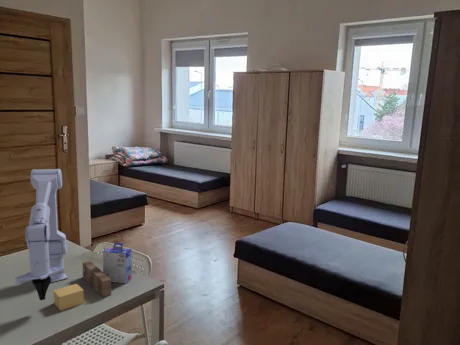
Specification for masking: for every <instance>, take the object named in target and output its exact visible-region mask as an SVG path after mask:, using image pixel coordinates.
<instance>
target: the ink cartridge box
mask: <svg viewBox="0 0 460 345" xmlns="http://www.w3.org/2000/svg"><path fill="white" fill-rule="evenodd" d="M123 245H124V243H121V242H114V244H113V247H112V246H109V247H107V248H105V250H103V251H102V272H103V273H105V274H106V275H107V276H108V277H109V278H110V279H111V283H119V284H127V283H129V281H131V280H132V279H133V273H132V272H133V263H132V262H133V260H132V259H133V257H132V255H133V254H132V251H133V250H132V249H131V248H123V247H124V246H123Z"/></svg>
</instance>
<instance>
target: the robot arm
mask: <svg viewBox="0 0 460 345" xmlns="http://www.w3.org/2000/svg"><path fill="white" fill-rule="evenodd" d="M30 184H31V186H32V187H33V188H32V189H33V190H34V189H35V204H34V205H33V206H32V207H31V209H30V215H29V223H28V225H27V226H26V227H25V232H24V234H25V242H26V246H27V249H28V256H29V271H30V272H29V271H28V272H27V273H25V274H22V275H19V276H16V277H14V281H15V285H16V286H19V285H21V284H23V283H29V282H32V285H33V286H34V287H35V290H36V292H37V295H38V300H40V301H44V300H46V295H47V291H48V289H49V286H50V284H52V283H55V282H58V281H62V280H66V279H68V278H69V277H68V275H67V274H66V273H65V262H64V259H65V258H64V255H66V254H67V253H68V240H67V235H66V234H65V233H64V232H62V231H60V230H59V227H58V225H59V224H58V221H59V220H58V205H57V204H58V202H57V193H58V192H57V191H58V190H61V189H62V188H63V172H62V170H61V169H60V168H55V169H53V168H52V169H51V168H46V169H43V168H42V169H35V168H32V170H31V172H30Z"/></svg>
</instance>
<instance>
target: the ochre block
mask: <svg viewBox="0 0 460 345" xmlns="http://www.w3.org/2000/svg"><path fill="white" fill-rule="evenodd" d="M52 291H53V305H55V306H56V307H57V308H58V310H59V311H63V310H66V309H69V308H73V307H76V306H80V305H82V304H85V298H84V297H85V296H84V289H83V288H82V287H81V285H79V284H78V283H74V284H71V285H68V286H63V287H60V288H57V289H54V290H52Z"/></svg>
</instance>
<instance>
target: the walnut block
mask: <svg viewBox="0 0 460 345" xmlns="http://www.w3.org/2000/svg"><path fill="white" fill-rule="evenodd" d="M82 277H83V279H84V280H85V281H86V282H88V284H90V285H91V286H92V287H93V288H94V290H95V291H97V293H99V295H101V296H102V298H104V297H109V296H112V282H111V279H110V278H109V277H108V276H107V275H106V274H105V273H103V270H101V269H100V268H99V267H98V266H97V265H95V264H94V263H93V261H91V260H88V261H84V262H82Z"/></svg>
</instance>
